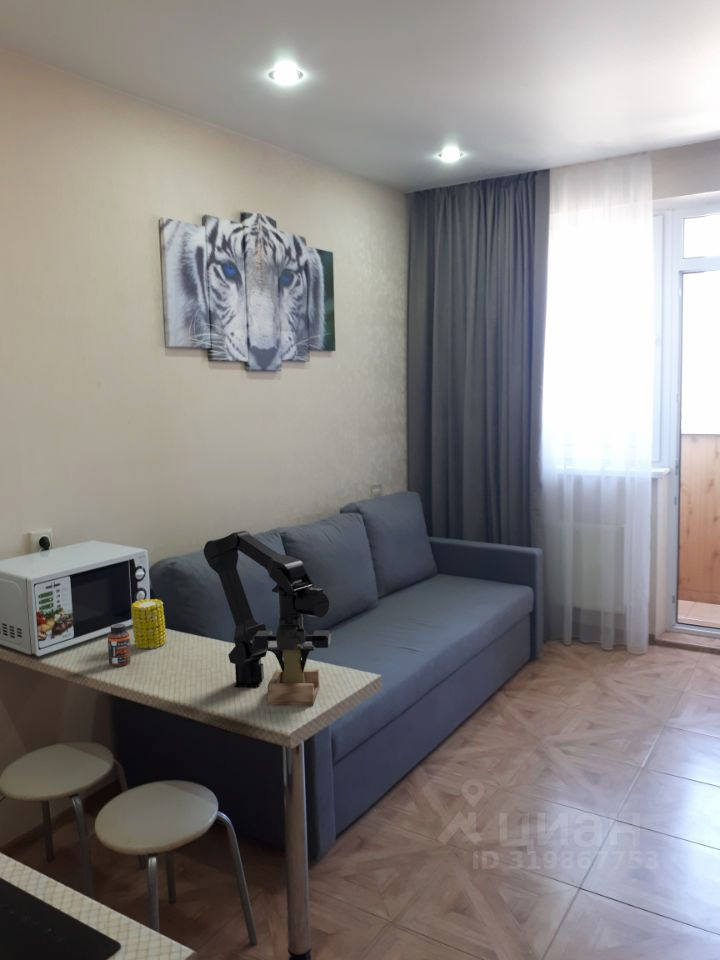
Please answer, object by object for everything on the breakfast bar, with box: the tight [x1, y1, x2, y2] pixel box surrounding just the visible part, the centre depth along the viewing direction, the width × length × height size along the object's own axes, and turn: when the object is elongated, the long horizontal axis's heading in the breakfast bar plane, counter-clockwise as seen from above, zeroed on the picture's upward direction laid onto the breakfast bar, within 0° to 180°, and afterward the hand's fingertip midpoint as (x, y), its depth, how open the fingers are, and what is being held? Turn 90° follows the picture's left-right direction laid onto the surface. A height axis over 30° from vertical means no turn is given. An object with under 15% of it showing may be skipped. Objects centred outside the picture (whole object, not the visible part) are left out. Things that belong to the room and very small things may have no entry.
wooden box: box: [267, 669, 321, 707], centre depth 185 cm, size 11×12×5 cm
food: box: [130, 598, 167, 649], centre depth 229 cm, size 15×12×10 cm
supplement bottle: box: [107, 623, 132, 667], centre depth 213 cm, size 6×6×11 cm
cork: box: [282, 644, 305, 683], centre depth 185 cm, size 6×6×11 cm
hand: (293, 672), depth 185 cm, fingers closed on cork, 4 cm apart
